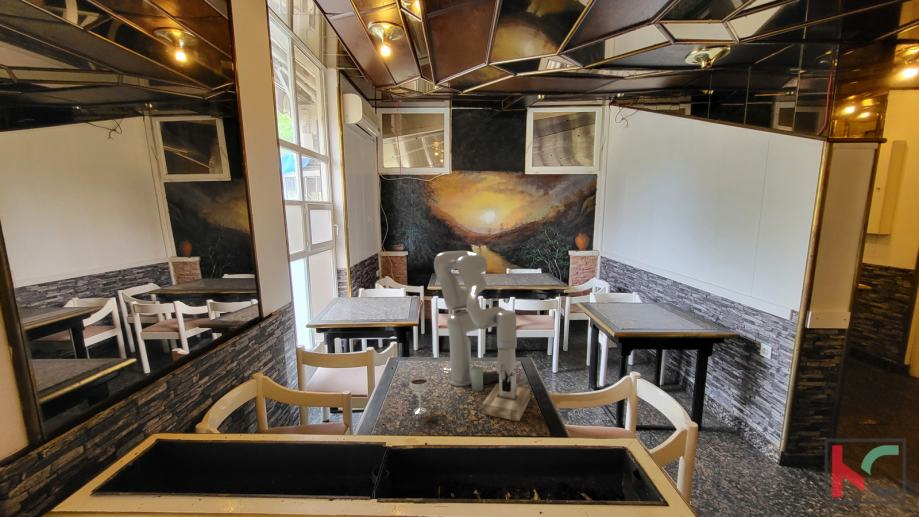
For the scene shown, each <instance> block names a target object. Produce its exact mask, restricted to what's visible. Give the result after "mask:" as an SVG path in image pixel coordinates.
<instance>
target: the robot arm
mask: <svg viewBox="0 0 919 517" xmlns="http://www.w3.org/2000/svg"><path fill="white" fill-rule="evenodd" d="M433 268H434V273H435V275H436V277H437V279H438V281H439V282H438V283H439V285H440V288H441V292H442V297H443V300H444V303H445V307H446V308H447V310H449V311H458V310H463V309H464V310H465V311H460V312H456V313H453V314H451V315H449V317H448V318H447V319H446V320H447V322H446V326H447V330H448V335H449V336H448V337H449V338H448V339H449V362H450V363H449V364H450V368H443V371H442V372H443V373H442V374H443V375H445V376H446V375H447V380H446V381H447V383H448V384H450V385H452V386H454V387H455V386H456V387H467V386H470V385H472V380H471V368H472V351H471V350H472V348H471V345H472V344H471V339H470V338H469V336H468V335H467V333H470V332H474V331H477V330H487V329H490V328H494V327H496V347H497V349H498V350H497V360H496V361H497V363H496V371H497V373H498V374H500V373H501V371H502V373H501V379H502V391H506V392H510V391H511V387H510V374H511V373H513V372H514V370H515V368H516V349H517V347H518V346H517V342H518V341H517V338H518V337H517V314H516V312H515V311H513V310H507V309H505V308H503V307H501V306H494V307H487V308H484V309H482V307H481V306H480V301H479V298H478V294H480V293H481V292H482V291H483V290H484V289H486V287H487V281H486V279H485V277H484V275H483V274H482V273H485V272H486V271H487V269H488V261H487V259H486V258H485V257H484V256H483V255H482V254H479V253H476V252H473V251H469V250H451V251H450V250H449V251H442V252H440V253H438V254H436V256H435V258H434V262H433ZM452 270H457V272H458V274H459V275H460V278H461V280H462V282H463V284H464V286H465V287H463V288H462V287H460V283H459V279H458V278H457V276H456V275H455V274H454V273H453V271H452ZM506 372H507V373H506ZM506 376H507V377H506Z"/></svg>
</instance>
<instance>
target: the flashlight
mask: <svg viewBox="0 0 919 517" xmlns="http://www.w3.org/2000/svg"><path fill="white" fill-rule="evenodd" d="M501 372H502V371H501ZM513 373H515V371H513ZM496 381H499V374H498V373H497V370H494V371H483V385H489V384H490V383H493V382H496Z"/></svg>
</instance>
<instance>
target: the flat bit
mask: <svg viewBox="0 0 919 517" xmlns="http://www.w3.org/2000/svg"><path fill="white" fill-rule="evenodd" d="M501 373H502V372H501ZM501 373H500V374H499V380H498V382H499V383H498V384H499V397H503V398H508V399H514V400H515V398H516V387H517V373H515V372H514V373H511V374H510V387H511V391H510V392H506V391H502V379H501ZM506 373H507V372H506ZM506 377H507V376H506Z"/></svg>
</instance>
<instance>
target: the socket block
mask: <svg viewBox="0 0 919 517" xmlns="http://www.w3.org/2000/svg"><path fill="white" fill-rule="evenodd" d="M530 400H531V389H530V388H526V387H520V386H516V398H515V400H514V399H508V398H503V397H499V383H496V384H495V385H494V387H493V388H492V389H491V391H490V392H489V394H488V395H487V396H486V398H485V399H484V401H483V402H482V406H481V407H482V415H487V416H491V417H495V418H496V417H497V418H502V419H506V420H511V421H515V422H520V421H521V418H522V416H523V414H524V412H525V410H526V409H527V406H528V404H529V402H530Z"/></svg>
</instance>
